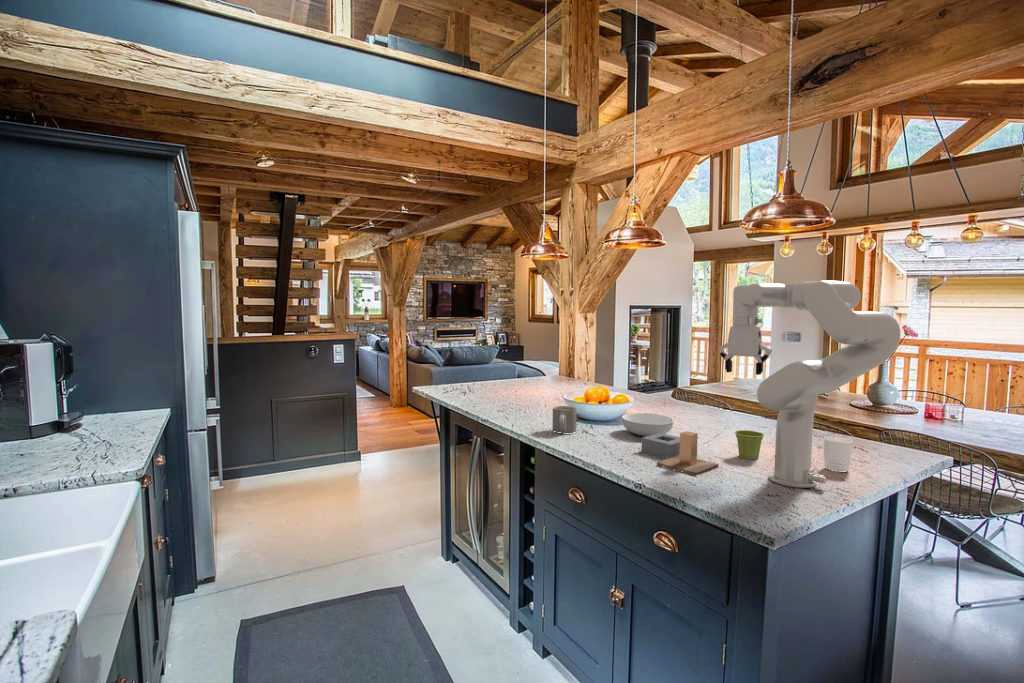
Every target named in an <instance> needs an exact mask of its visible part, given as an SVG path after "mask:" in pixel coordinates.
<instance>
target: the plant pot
mask: <svg viewBox="0 0 1024 683" xmlns="http://www.w3.org/2000/svg"><path fill="white" fill-rule="evenodd" d="M734 434H735V437H736V439H737V440H736V441H737V447H738V448H737V449H738V457H740V458H741V459H745V460H749V459H751V460H752V459H755V460H758V459H759V457H760V451H761V445H762V441H763V438H764V437H765V433H762V432H760V431H755V430H747V429H743V430H740V429H739V430H736V431H734Z"/></svg>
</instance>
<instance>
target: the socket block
mask: <svg viewBox="0 0 1024 683" xmlns="http://www.w3.org/2000/svg"><path fill="white" fill-rule="evenodd" d="M641 452H642V453H645V454H649V453H650V455H653V454H654V456H658V457H661V456H662V457H661V458H665V457H666V458H665V459H669V458H672V457H675V456H678V455H679V452H680V436H677V435H674V434H673V435H671V434H668V433H666V434H663V433H658V434H655V435H651V436H647V437H645V436H642V438H641Z"/></svg>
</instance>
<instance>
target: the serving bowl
mask: <svg viewBox="0 0 1024 683" xmlns="http://www.w3.org/2000/svg"><path fill="white" fill-rule="evenodd" d="M621 422H622V425H623V427H624V428H625V429H626V430H627V431H628V432H630V433H632V434H635V435H637V436H640V435H641V436H640V437H645V436H651V435H655V434H658V433H663V434H668V433H669V432H670V431H671V430H672V429H673V426H674V422H675V421H674V419H673V417H669V416H667V415H664V414H663V415H662V414H658V413H647V412H646V413H645V412H634V413H633V412H631V413H626V414H623V415H622V416H621Z"/></svg>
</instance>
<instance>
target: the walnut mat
mask: <svg viewBox="0 0 1024 683" xmlns="http://www.w3.org/2000/svg"><path fill="white" fill-rule="evenodd" d="M658 465H659V466H658ZM656 466H658V467H662V466H664V467H663V468H665V467H667V468H666V469H669V468H671V469H670V470H673V469H675V470H674V471H676V470H679V471H678V472H680V471H683V472H682V473H684V472H686V473H685V474H687V473H690V474H689V475H691V474H694V475H693V476H695V475H698V474H700V475H702V474H701V473H703V474H705V473H707V471H708V472H711V471H712V469H713V470H715V469H718V468H719V463H715V462H711V461H707V460H702V459H699V458H697V464H694V465H691V466H689V465H685V464H681V463H679V455H678V456H675V457H672V458H665V459H663V460H660V461H657V462H656ZM704 472H705V473H704ZM698 476H699V475H698Z"/></svg>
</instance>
